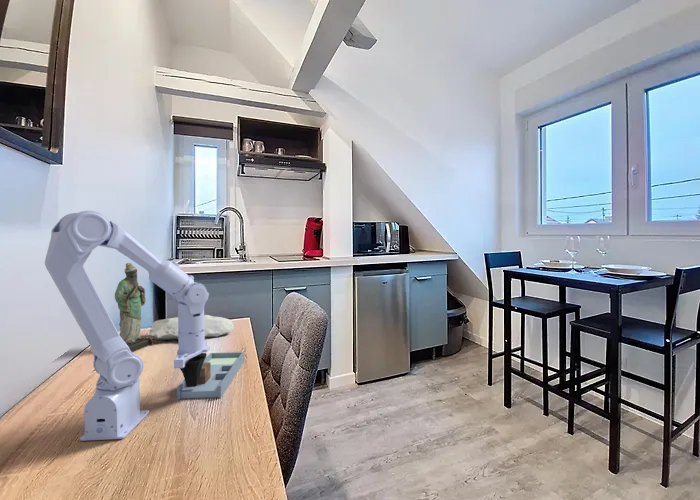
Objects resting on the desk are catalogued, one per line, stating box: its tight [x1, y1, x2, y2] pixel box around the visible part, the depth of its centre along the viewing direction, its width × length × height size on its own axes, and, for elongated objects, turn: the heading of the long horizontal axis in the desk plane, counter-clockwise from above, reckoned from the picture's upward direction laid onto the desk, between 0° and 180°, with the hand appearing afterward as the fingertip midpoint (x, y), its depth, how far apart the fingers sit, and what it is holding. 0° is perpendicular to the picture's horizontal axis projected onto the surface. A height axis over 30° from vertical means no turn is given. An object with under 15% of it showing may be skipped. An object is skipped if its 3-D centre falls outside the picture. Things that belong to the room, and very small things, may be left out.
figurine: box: [114, 262, 153, 353], centre depth 112 cm, size 10×10×30 cm
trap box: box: [176, 351, 245, 401], centre depth 88 cm, size 23×10×3 cm, turn 5°
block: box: [198, 362, 211, 384], centre depth 83 cm, size 4×4×4 cm
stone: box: [149, 314, 235, 341], centre depth 127 cm, size 21×8×30 cm
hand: (192, 385), depth 78 cm, fingers closed
